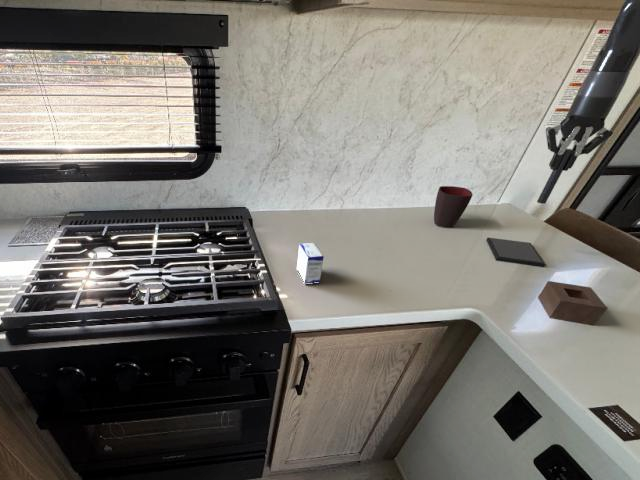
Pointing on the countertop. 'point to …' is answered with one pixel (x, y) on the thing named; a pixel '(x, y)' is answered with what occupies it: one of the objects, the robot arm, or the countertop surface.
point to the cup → (450, 205)
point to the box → (309, 262)
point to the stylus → (554, 177)
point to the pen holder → (571, 303)
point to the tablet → (515, 252)
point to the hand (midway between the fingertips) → (558, 169)
